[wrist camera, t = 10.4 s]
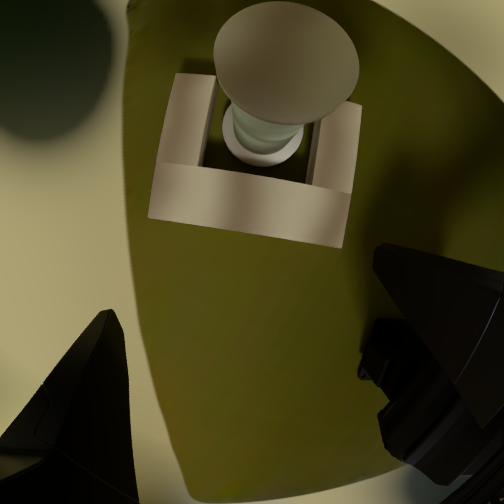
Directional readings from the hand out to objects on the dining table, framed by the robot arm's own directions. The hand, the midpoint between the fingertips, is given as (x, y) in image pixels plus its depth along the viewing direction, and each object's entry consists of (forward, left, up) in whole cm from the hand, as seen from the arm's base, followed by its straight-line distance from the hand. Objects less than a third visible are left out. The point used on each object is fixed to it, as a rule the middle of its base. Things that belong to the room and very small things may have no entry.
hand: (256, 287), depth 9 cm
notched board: (0, -6, -14) cm, 15 cm away
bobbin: (0, -8, -14) cm, 16 cm away
